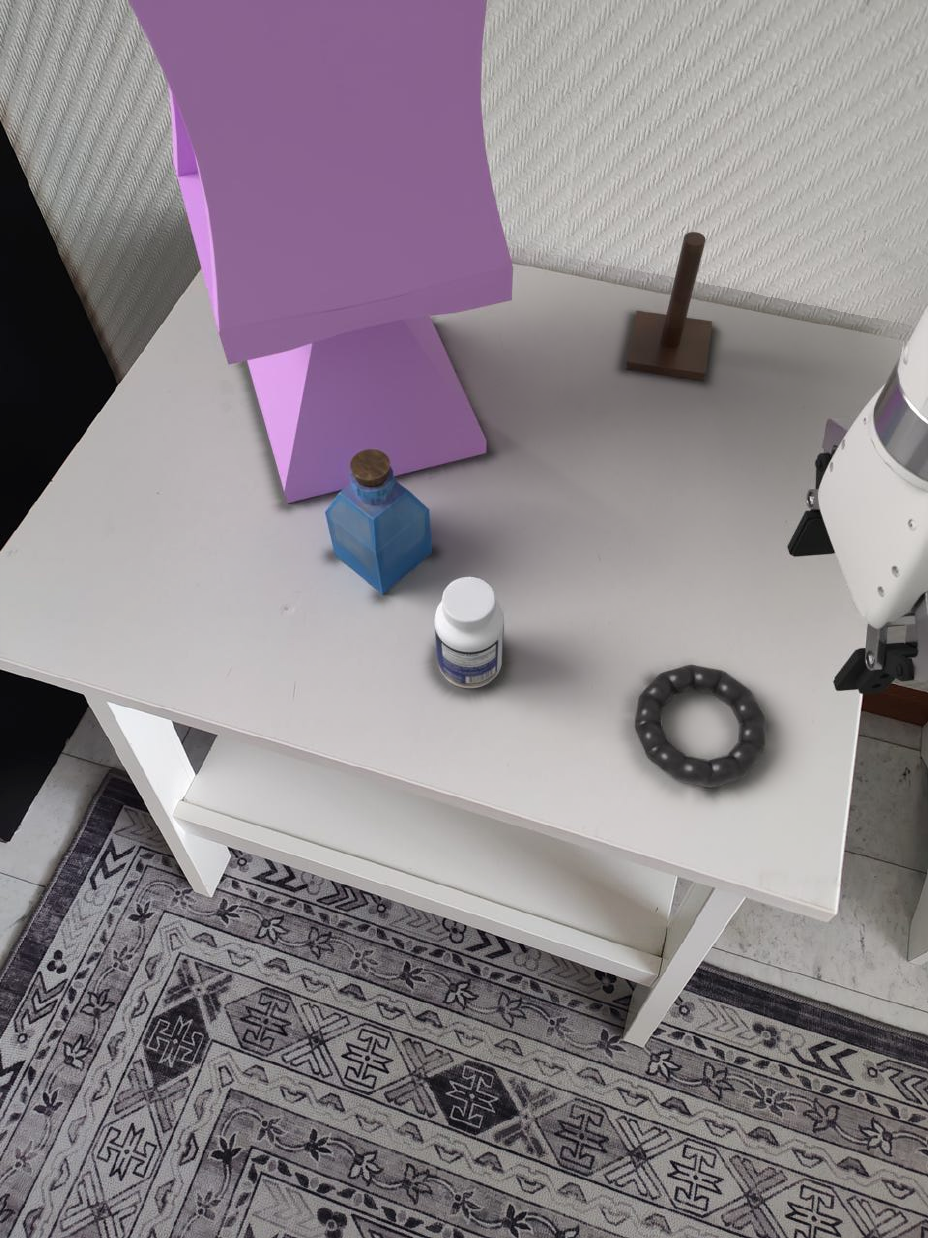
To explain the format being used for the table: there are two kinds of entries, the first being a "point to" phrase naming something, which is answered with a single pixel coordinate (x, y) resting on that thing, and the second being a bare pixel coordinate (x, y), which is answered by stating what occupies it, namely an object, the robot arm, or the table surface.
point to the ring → (691, 767)
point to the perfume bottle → (378, 523)
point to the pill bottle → (469, 633)
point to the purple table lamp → (338, 214)
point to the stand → (674, 325)
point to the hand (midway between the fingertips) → (833, 614)
